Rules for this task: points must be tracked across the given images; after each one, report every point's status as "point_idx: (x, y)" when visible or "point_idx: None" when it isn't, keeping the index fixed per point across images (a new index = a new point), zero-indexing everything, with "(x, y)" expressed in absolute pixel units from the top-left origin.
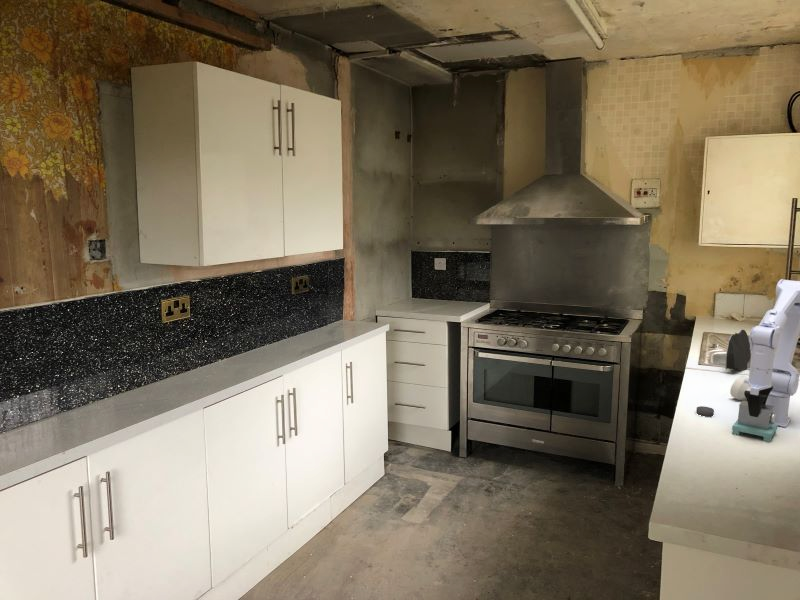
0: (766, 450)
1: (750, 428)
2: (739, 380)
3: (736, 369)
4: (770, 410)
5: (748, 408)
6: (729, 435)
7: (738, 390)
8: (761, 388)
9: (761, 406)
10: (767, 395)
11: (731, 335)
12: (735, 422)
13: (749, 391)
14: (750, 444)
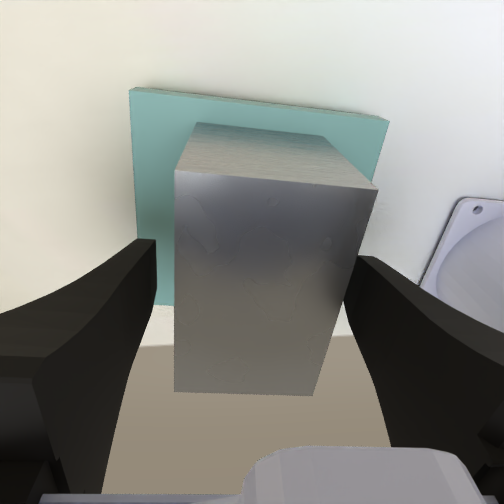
0: (22, 270)
1: (159, 207)
2: None
3: None
4: (174, 391)
5: (108, 260)
6: (105, 73)
7: None
8: None
9: (246, 339)
10: (387, 427)
11: None
12: (228, 104)
13: (18, 431)
14: (43, 201)
